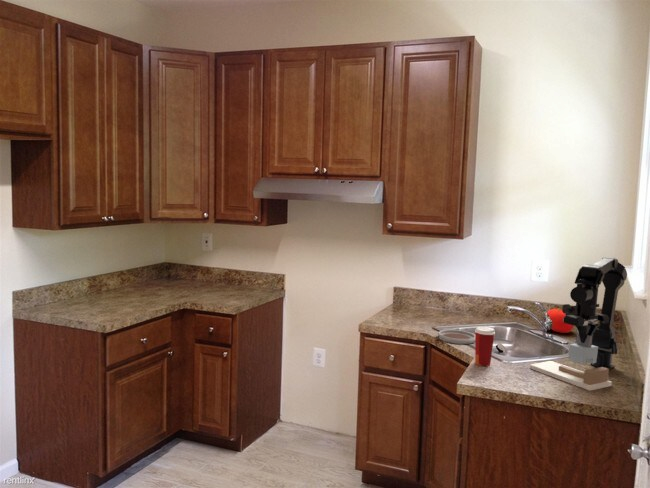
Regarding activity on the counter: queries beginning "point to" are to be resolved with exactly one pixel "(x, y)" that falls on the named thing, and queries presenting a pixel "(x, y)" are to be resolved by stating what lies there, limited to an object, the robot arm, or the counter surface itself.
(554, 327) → the red bell pepper
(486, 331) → the paper cup
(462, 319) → the counter surface
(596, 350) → the cabinet block
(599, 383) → the mounting board
